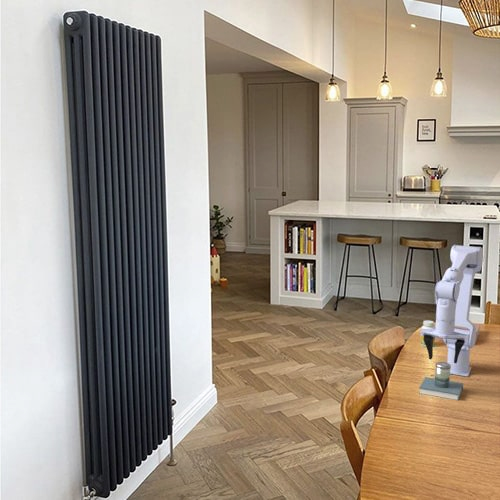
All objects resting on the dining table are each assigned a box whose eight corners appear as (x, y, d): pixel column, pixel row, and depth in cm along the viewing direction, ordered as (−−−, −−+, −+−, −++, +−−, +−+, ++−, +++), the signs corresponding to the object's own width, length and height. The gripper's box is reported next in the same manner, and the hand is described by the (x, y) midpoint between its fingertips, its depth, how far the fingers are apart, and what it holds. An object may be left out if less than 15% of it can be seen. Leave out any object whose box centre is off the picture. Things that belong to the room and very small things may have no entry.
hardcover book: (425, 383, 207) (425, 376, 206) (462, 390, 201) (463, 383, 201) (418, 394, 198) (419, 387, 197) (458, 401, 193) (458, 394, 192)
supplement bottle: (426, 342, 250) (428, 319, 248) (437, 345, 245) (438, 322, 244) (417, 344, 247) (418, 321, 245) (428, 348, 242) (429, 324, 241)
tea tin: (434, 380, 202) (436, 360, 201) (449, 383, 200) (451, 363, 199) (433, 386, 198) (435, 365, 196) (448, 389, 196) (450, 368, 195)
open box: (437, 328, 269) (438, 319, 268) (479, 333, 261) (480, 324, 260) (430, 339, 254) (430, 329, 253) (474, 345, 246) (474, 335, 245)
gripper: (419, 319, 195) (417, 360, 197) (467, 325, 189) (465, 367, 191) (423, 313, 201) (421, 354, 204) (471, 319, 195) (468, 360, 197)
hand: (443, 360), depth 198 cm, fingers open, 7 cm apart
